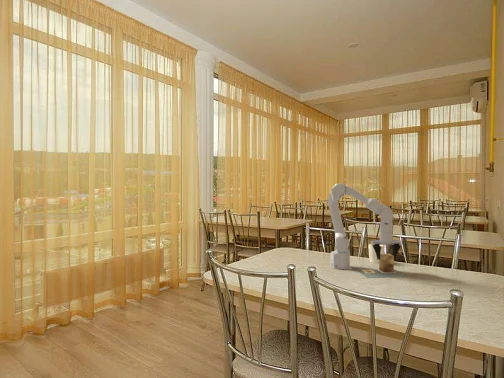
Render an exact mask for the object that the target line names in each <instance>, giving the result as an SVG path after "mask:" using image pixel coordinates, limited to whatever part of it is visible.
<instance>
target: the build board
mask: <svg viewBox="0 0 504 378" xmlns="http://www.w3.org/2000/svg"><path fill="white" fill-rule="evenodd" d="M356 271H357V272H358V273H360V274H361V275H363V276H364V277H365V278H366V279H401V278H403V279H404V278H406V279H407V278H411V277H410V276H409V275H406V274H405V273H403V272H402V271H399V270H398V269H396V268H394V272H382V271H380V270H379V268H378V269H377V268H376V269H373V268H372V269H370V268H369V269H356Z"/></svg>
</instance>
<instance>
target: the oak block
mask: <svg viewBox="0 0 504 378" xmlns="http://www.w3.org/2000/svg"><path fill="white" fill-rule="evenodd" d="M379 262H380V263H382V264H395V260H394V256H393V255H392V253H391V254H390V253H383V254H380V260H379Z"/></svg>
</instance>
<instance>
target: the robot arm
mask: <svg viewBox="0 0 504 378" xmlns="http://www.w3.org/2000/svg"><path fill="white" fill-rule="evenodd" d="M344 195H345V196H351V197H353V198H355V199H357V200H358V201H360V202H361V203H363V204H364V205H365V207H366V208H367V209H368V210H370V211H371V212H373V213H374V214H376V215H379V216H380V223H379V239H376V240H375V239H374V240H371V241H370V244H372V246H373V248H374V250H375V252H376V256H377V259H378V260H380V252H381V246H380V245H384V246H385V245H386V246H387V245H388V246H389V245H390V246H391V255H393V256H394V261H395V260H396V258H397V256H398V253H399V250H401V246H402V242H403V241H402V240H399V239H393V237H394V236H393V233H394V232H393V229H394V228H393V227H394V225H393V216H394V214H393V213H394V212H393V210H392V209H391V208H390V207H389V206H387V205H386V204H383V202H382V203H381V202H380V201H379V200H378V199H377V198H374V197H371V198H369V197H367V196H366V195H364V194H362V193H361V192H360V191H358V190H356V188H353V187H351V186H350V185H346V184H345V183H341V182H339V183H335V184H334V185H333V186H332V187H331V188H330V191H329V195H328V197H327V204H328V209H329V210H328V211H329V214H330V217H331V222H332V226H333V231H334V239H335V243H334V246H335V249H334V250H333V251H330V257H329V259H330V264H329V267H331V268H332V269H333V270H353V268H352V267H351V265H350V263H351V259H350V258H351V255H350V253H351V251H350V249H349V247H350V244H351V242H350V240H349V238H348V237H347V234H346V232H345V228H344V224H343V219H342V215H341V212H340V207H339V203H338V202H339V201H340V200H341V198H342V197H343V196H344Z"/></svg>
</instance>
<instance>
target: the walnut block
mask: <svg viewBox="0 0 504 378" xmlns="http://www.w3.org/2000/svg"><path fill="white" fill-rule="evenodd" d="M394 264H395V263H394ZM394 264H382V263H380V262H379V263H378V269H379V270H380V271H382V272H394V269H395V268H394V267H395V265H394Z"/></svg>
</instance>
